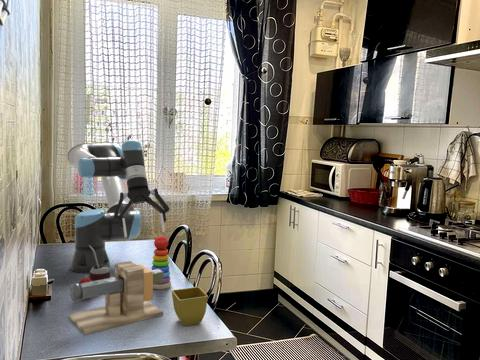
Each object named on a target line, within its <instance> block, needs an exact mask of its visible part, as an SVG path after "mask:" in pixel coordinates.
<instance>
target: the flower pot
mask: <svg viewBox="0 0 480 360" xmlns="http://www.w3.org/2000/svg"><path fill="white" fill-rule="evenodd" d="M171 297H172V305H173V309H174V312H175V314H176V316H177V318H178V321H179V322H180V323H181V324H182V326H183V327H184V326H192V325H197V324H198V325H199V324H200V323H201V322H202V320H203V319H204V317H205V314H206V312H207V307H208V306H207V305H208V298H209V296H208V294H207V293H206V292H205V291H204V290H203V289H202V288H201V287H199V286H194V287H187V288H178V289H172V290H171Z"/></svg>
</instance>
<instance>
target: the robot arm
mask: <svg viewBox="0 0 480 360" xmlns="http://www.w3.org/2000/svg"><path fill="white" fill-rule="evenodd" d="M142 146H143V145H142V143H141V142H140V141H139V140H136V139H135V140H134V139H130V140H126V141H123V143H122V145H121V146H120V145H119V144H117V143H114V142H108V143H107V142H104V143H103V142H85V143H84V142H83V143H79V144H76V145H73V147H71V148H70V149H69V150H68V152H67V160H68V163H69V164H70V165H71V166H73V167H74V168H77V170H78V171H77V173H78V175H79V177H81V178H101V181H102V186H103V191H104V193H105V198H106V202H107V207H108V209H107V210H106V211H105V210H104V209H101V208H98V209H90V210H89V209H88V210H83V211H81V212H79V213H77V214H76V215H75V217H74V225H73V227H74V252H73V255H72V259H71V262H70V269H71V271H73V272H76V273H82V274H83V273H84V274H86V273H87V274H90V270H91V269H92V267H94V266H97V264H96V260H95V256H94V254H93V251H92V249H91V248H90V247H89V245H90V246H91V247H92V248H93V249H94V251H95V252H96V257H97V261H98V265H105V266H107V267H108V268H109V269H110V266H111V265H110V262H111V261H110V258H109V255H108V253H107V249H106V242H108V241H110V242H111V241H119V240H130V239H136V238H138V236H140V233H141V228H142V214H141V212H140V211H139V210H136V209H134V206H133V205H134V204H135V205H139V204H145V203H147V204H148V205H150V207H152V208H153V209H155V210H156V212H158V213H159V219H160V227H161V231H162V233H164V232H165V231H166V228H165V223H166V222H167V217H166V216H167V215H166V214H167V213H169V212H170V207H169V205H168V204H167V203H166V202H165V200H164V199H163V197H162V196H161V195H160V193H159V191H158V188H156V187H155V188H154V189H152V190H150V188H149V184H148V178H147V172H146V165H145V159H144V153H143V151H144V150H143V147H142ZM124 180H126V186H127V192H126V189H125V185H124V182H123V181H124ZM151 195H152V196H153V197H154V198H155V199H156V201H157V202H158V203H159V204H160V205H159V204H158V203H157V202H155V201H154V199H152V198H151V197H150V196H151ZM128 199H129V200H128Z"/></svg>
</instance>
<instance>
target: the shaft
mask: <svg viewBox="0 0 480 360" xmlns="http://www.w3.org/2000/svg"><path fill="white" fill-rule="evenodd" d="M150 270H151V271H153V284H158V283H163V282H164V272H163V271H161V270H160V269H156V270H152V269H150ZM69 287H70V288H69V295H70V298H71V301H72V302H73V303H75V302H79V301H80V302H81V301H82V300H87V299H86V298H88V299H89V298H95V297H99V296H104V295H105V294H110V293H115V292H120V291H124V278H123V277H122V276H118V277H115V276H113V277H110V278H107V279H102V280H97V281H91V282H86V283H81V284H80V283H79V282H77V283H76V282H75V283H71V284H70V285H69Z"/></svg>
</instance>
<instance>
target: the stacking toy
mask: <svg viewBox="0 0 480 360" xmlns="http://www.w3.org/2000/svg"><path fill="white" fill-rule="evenodd" d="M153 245H154V247H155V249H154V250H153V254H154V255H153V256H152V264H151V265H152V266H151V267H150V268H151V269H150V270H156V269H160V270H161V271H163V272H164V282H163V283H158V284H153V290H166V289H169V288H170V287H171V286H172V281H171V271H170V267H171V266H170V265H169V264H170V261H169V255H168V253H169V250H168V248H167V247H168V246H169V239H168V238H167V237H166V236H164V235H159V236H156V238H154V243H153Z"/></svg>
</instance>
